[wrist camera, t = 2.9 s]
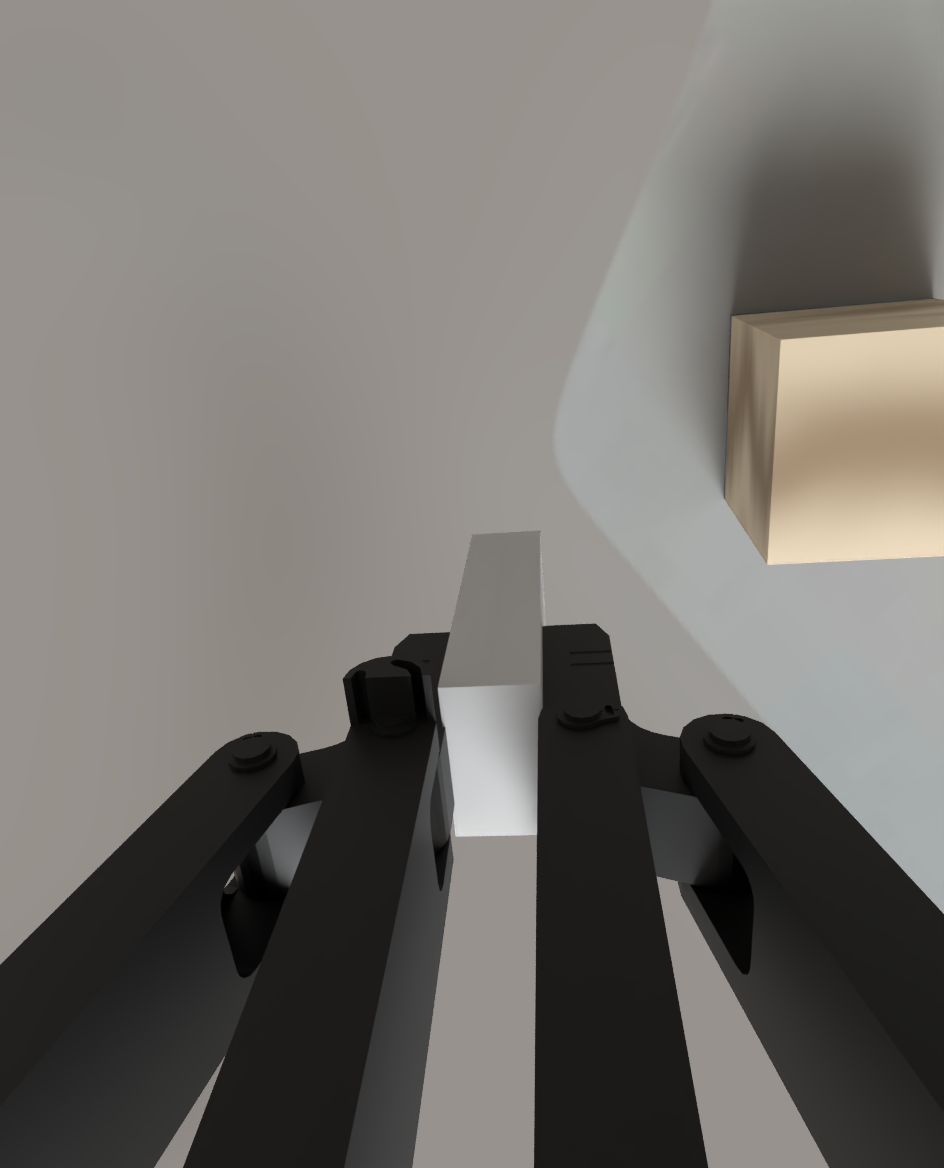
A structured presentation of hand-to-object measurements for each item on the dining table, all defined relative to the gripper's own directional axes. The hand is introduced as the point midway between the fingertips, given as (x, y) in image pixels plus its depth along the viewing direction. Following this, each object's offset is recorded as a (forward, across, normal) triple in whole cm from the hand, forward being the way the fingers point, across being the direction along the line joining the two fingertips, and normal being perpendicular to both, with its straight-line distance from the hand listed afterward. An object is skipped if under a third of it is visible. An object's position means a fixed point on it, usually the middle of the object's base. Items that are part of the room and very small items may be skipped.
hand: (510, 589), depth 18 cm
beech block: (+15, +11, 0) cm, 19 cm away
